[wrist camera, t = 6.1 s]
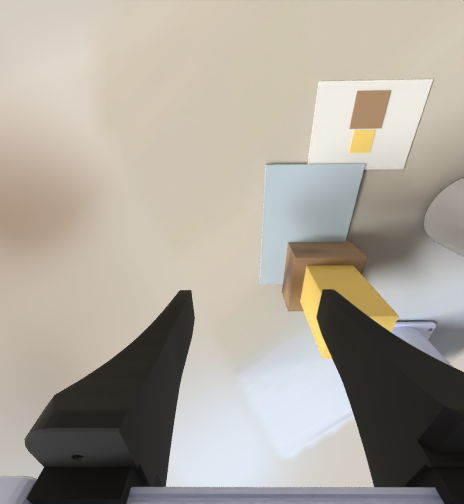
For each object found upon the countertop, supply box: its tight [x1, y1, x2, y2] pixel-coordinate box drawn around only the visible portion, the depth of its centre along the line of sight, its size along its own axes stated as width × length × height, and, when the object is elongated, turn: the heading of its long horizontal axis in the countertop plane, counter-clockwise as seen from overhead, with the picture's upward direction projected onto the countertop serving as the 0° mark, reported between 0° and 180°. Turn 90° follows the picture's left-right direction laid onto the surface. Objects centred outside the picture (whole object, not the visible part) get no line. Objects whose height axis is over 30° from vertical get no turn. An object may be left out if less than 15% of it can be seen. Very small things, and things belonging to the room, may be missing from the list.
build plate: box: [259, 163, 365, 284], centre depth 21 cm, size 12×8×1 cm, turn 1°
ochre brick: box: [300, 265, 399, 358], centre depth 17 cm, size 4×4×6 cm
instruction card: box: [307, 79, 433, 170], centre depth 17 cm, size 6×8×1 cm
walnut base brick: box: [282, 242, 367, 311], centre depth 21 cm, size 6×6×3 cm
